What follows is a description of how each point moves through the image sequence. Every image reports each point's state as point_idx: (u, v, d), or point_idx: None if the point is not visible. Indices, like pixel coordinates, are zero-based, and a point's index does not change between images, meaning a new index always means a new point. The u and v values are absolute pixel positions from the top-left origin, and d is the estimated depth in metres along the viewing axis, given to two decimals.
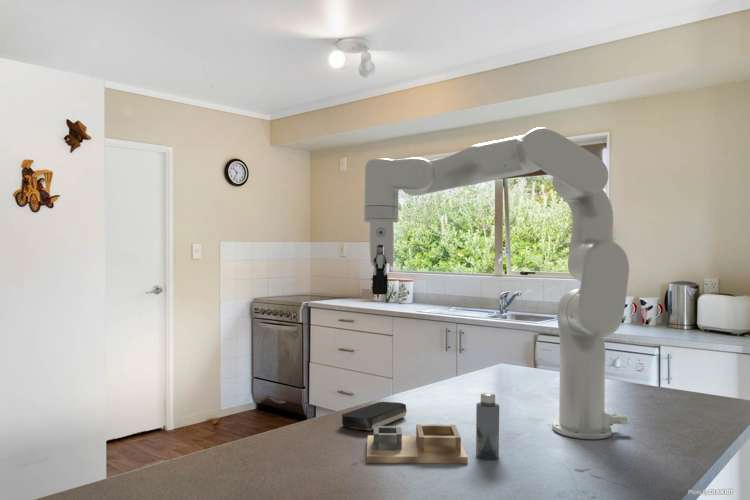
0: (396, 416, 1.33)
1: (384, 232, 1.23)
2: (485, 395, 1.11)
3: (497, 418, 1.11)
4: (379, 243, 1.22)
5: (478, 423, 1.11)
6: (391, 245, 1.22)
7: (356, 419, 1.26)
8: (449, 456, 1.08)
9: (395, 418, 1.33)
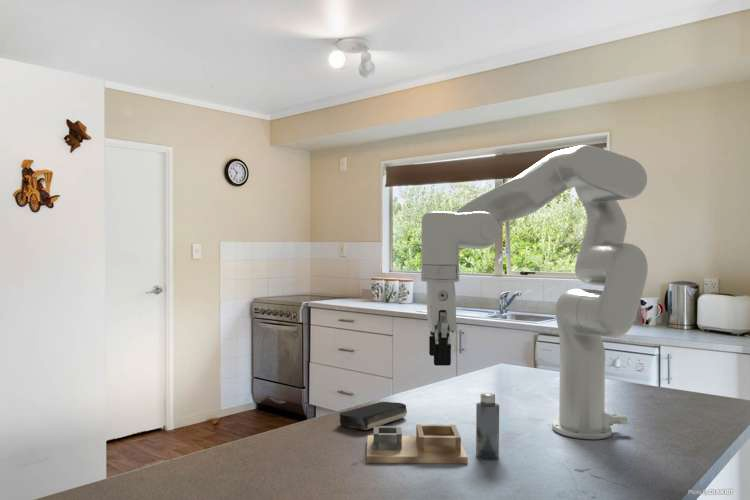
0: (394, 416, 1.33)
1: (446, 295, 1.10)
2: (485, 395, 1.11)
3: (497, 418, 1.11)
4: (441, 308, 1.09)
5: (478, 423, 1.11)
6: (454, 310, 1.09)
7: (352, 418, 1.27)
8: (449, 456, 1.08)
9: (394, 418, 1.33)
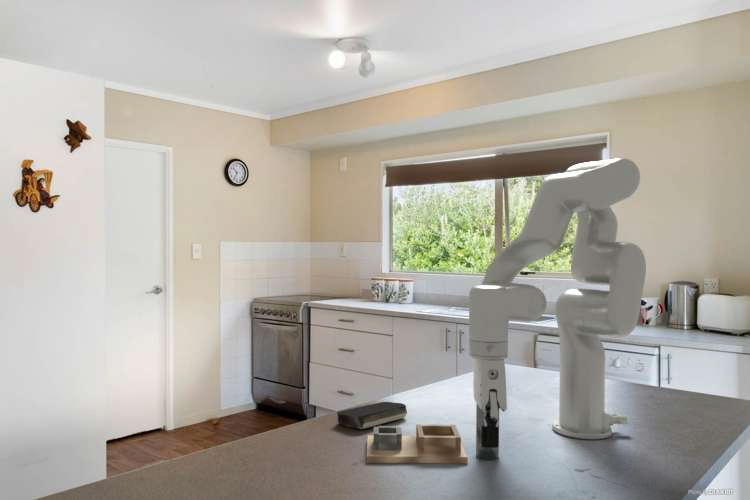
0: (393, 416, 1.33)
1: (496, 373, 1.08)
2: None
3: None
4: (491, 387, 1.07)
5: (478, 423, 1.11)
6: (505, 389, 1.07)
7: (348, 417, 1.28)
8: (449, 456, 1.08)
9: (392, 418, 1.33)
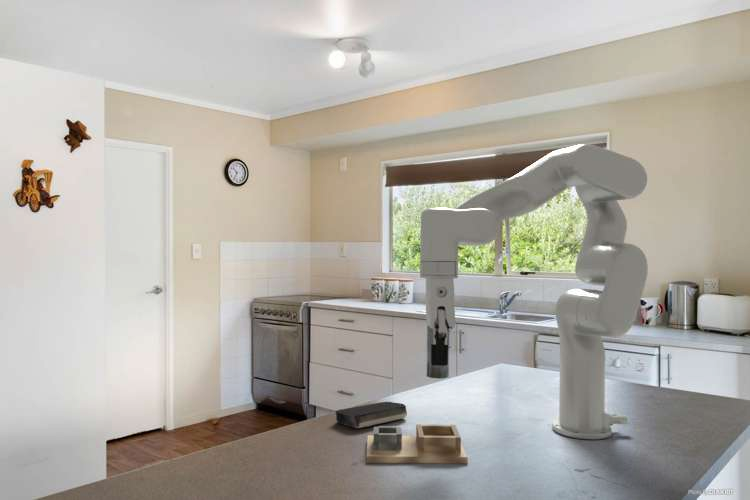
0: (391, 417, 1.33)
1: (444, 291, 1.10)
2: None
3: (447, 337, 1.12)
4: (440, 304, 1.09)
5: (428, 343, 1.13)
6: (453, 306, 1.09)
7: (345, 415, 1.29)
8: (449, 456, 1.08)
9: (390, 419, 1.32)
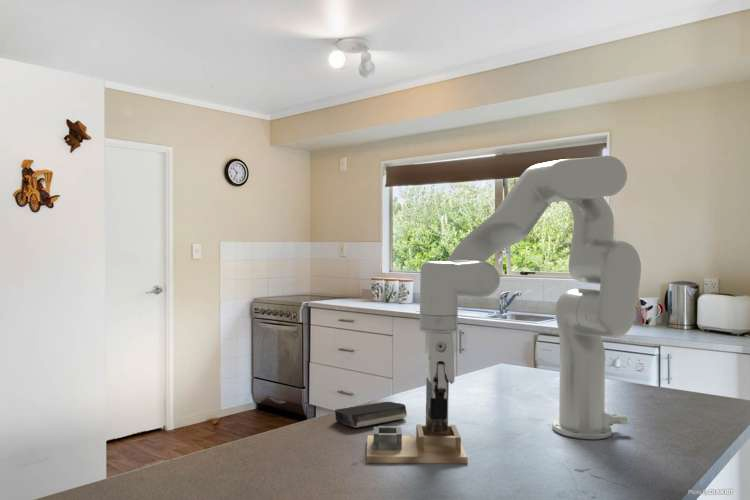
0: (390, 417, 1.32)
1: (444, 346, 1.10)
2: None
3: None
4: (439, 359, 1.09)
5: (427, 396, 1.13)
6: (452, 361, 1.09)
7: (343, 415, 1.29)
8: (449, 456, 1.08)
9: (389, 419, 1.32)
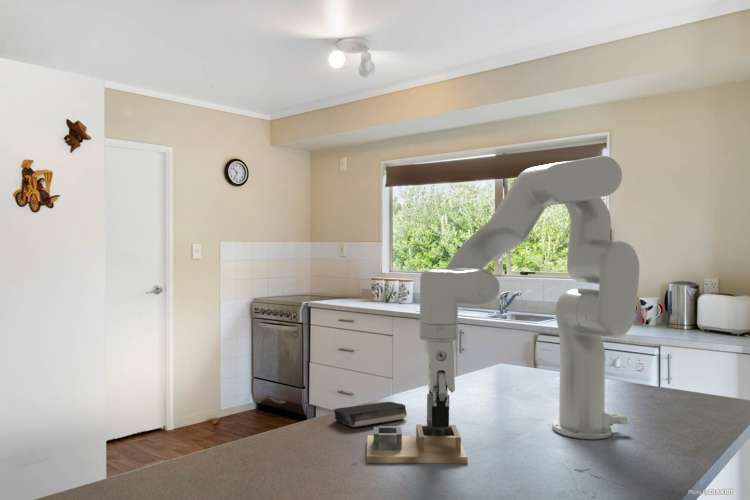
0: (389, 417, 1.32)
1: (444, 354, 1.10)
2: None
3: None
4: (439, 368, 1.09)
5: (428, 413, 1.13)
6: (453, 370, 1.09)
7: (342, 414, 1.30)
8: (449, 456, 1.08)
9: (389, 419, 1.32)
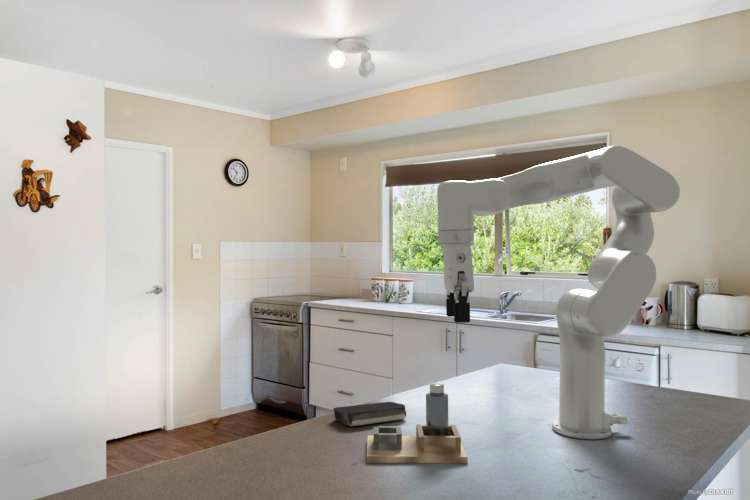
0: (388, 417, 1.32)
1: (463, 257, 1.19)
2: (434, 385, 1.14)
3: (445, 407, 1.13)
4: (459, 269, 1.18)
5: (427, 413, 1.13)
6: (472, 271, 1.18)
7: (340, 413, 1.31)
8: (449, 456, 1.08)
9: (387, 419, 1.32)
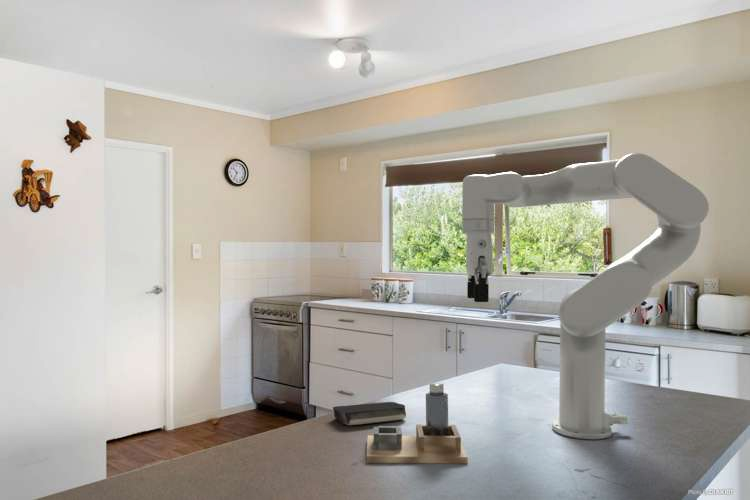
0: (387, 417, 1.32)
1: (484, 244, 1.32)
2: (433, 385, 1.14)
3: (445, 407, 1.13)
4: (480, 254, 1.31)
5: (427, 412, 1.14)
6: (491, 256, 1.31)
7: (338, 412, 1.31)
8: (449, 456, 1.08)
9: (386, 419, 1.32)
